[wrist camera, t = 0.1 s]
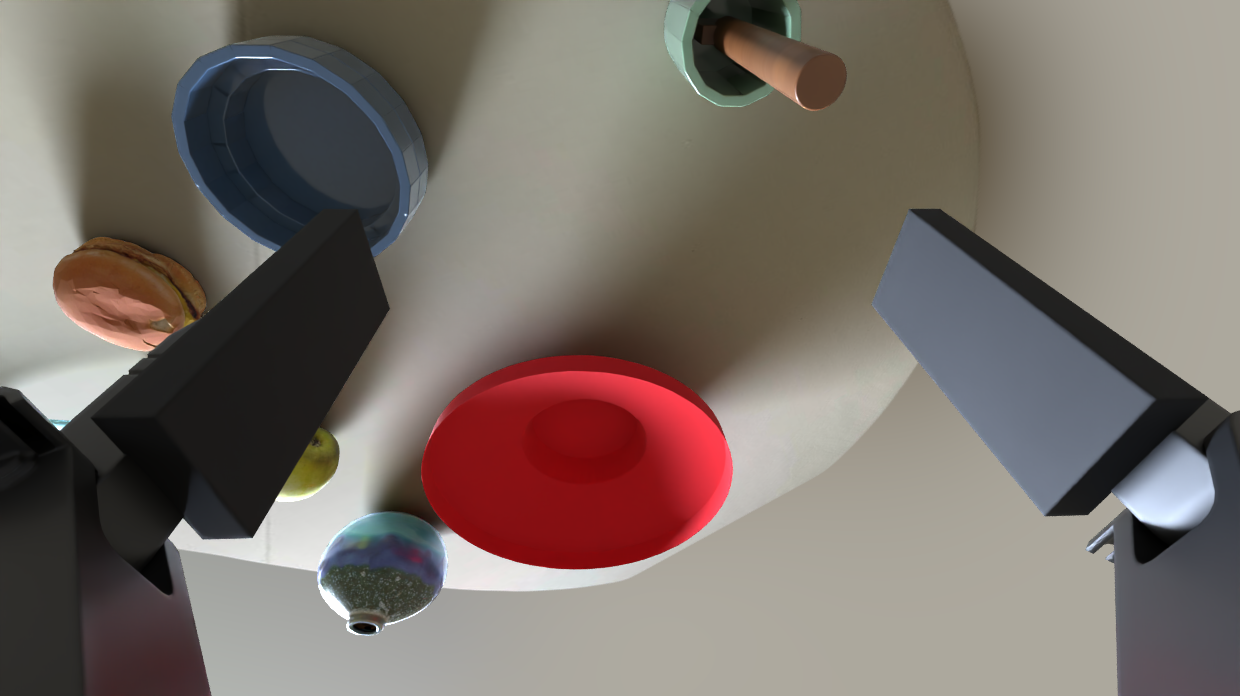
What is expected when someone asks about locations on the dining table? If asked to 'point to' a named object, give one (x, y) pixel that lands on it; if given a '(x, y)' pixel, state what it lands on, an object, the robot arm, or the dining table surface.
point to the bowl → (577, 463)
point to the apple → (312, 468)
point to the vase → (382, 570)
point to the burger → (126, 293)
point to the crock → (709, 69)
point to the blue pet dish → (298, 139)
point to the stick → (777, 60)
